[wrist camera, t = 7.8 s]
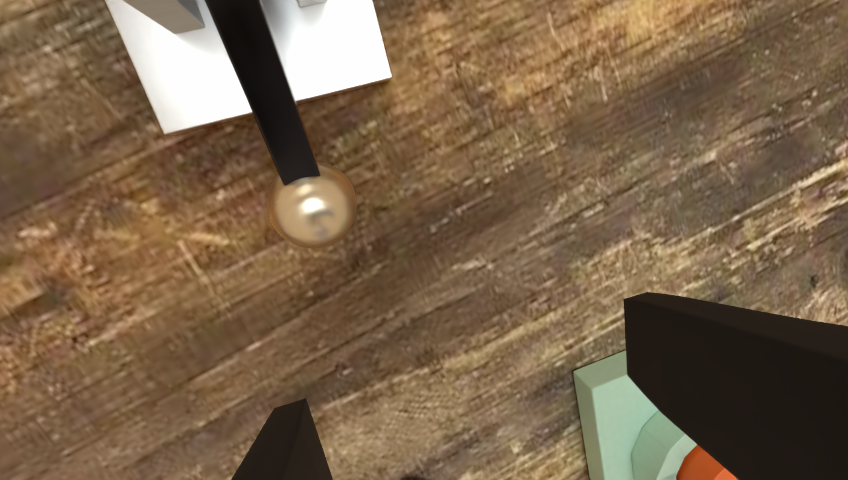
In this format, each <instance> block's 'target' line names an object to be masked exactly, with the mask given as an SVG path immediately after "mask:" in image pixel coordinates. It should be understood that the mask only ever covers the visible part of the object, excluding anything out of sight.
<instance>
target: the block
mask: <svg viewBox="0 0 848 480" xmlns="http://www.w3.org/2000/svg"><path fill="white" fill-rule="evenodd" d="M573 375H574V381H575V388H576V394H577V400H578V407H579V413H580V420H581V426H582V432H583V439H584V445H585V451H586V458H587V464H588V471H589V477H590V480H676V475H677V473H678V471H679V468H680V466H681V464H682V462H683V460H684V457H685V456H686V455H687V454H688V453H689V452H690V451H691V450H692V449H693V448H694V447H695V446H696V445H697V444H696V443H695V442H694V441H693V440H692V439H691V438H689V437H688V436H687V435H686V434H685V433H684V432H683V431H681V430H680V429H679V428H678V427H677V426H676V425H674V424H673V423H672V422H671V421H670V420H669V419H668V418H667V417H666V416H664V415H663V414H662V413H661V412H660V411H659V410H658V409H657V408H656V407H655V406H654V405H653V404H652V402H651V401H650V400H649V399H648V398H647V397H646V396H645V395H644V394H643V393H642V392H641V390H640V389H639V388H638V387H637V386H636V385H635V384H634V382H633V381H632V380H631V379H630V378H629V377H628V376H627V361H626V350H625V351H622V352H620V353H617V354H615V355H612V356H610V357H607V358H605V359H602V360H600V361H597V362H595V363H592V364H590V365H587V366H585V367H582V368H580V369H577V370H575V371H573Z"/></svg>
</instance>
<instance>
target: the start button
mask: <svg viewBox="0 0 848 480" xmlns="http://www.w3.org/2000/svg"><path fill="white" fill-rule="evenodd" d="M676 480H738V479H737V478H736V477H735V476H734V475H732V474H731V473H730V472H729V471H728V470H727V469H725V468H724V467H723V466H722V465H721V464H720V463H718V462H717V461H716V460H715V459H714V458H713V457H711V456H710V455H709V454H708V453H707V452H706V451H704V450H703V449H702V448H701V447H700V446H699V445H696V446H695V447H694V448H693V449H692V450H691V451H690V452H689V453H688V454H687V455H686V456H685V457H684V460H683V462H682V464H681V466H680V468H679V471H678V473H677V475H676Z"/></svg>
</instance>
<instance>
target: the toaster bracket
mask: <svg viewBox="0 0 848 480" xmlns="http://www.w3.org/2000/svg"><path fill="white" fill-rule="evenodd" d="M105 2H106V5H107V7H108V9H109V11H110V14H111V16H112V18H113V20H114V23H115V25H116V27H117V30H118V32H119V34H120V36H121V39H122V41H123V43H124V45H125V48H126V50H127V52H128V54H129V57H130V59H131V61H132V63H133V66H134V68H135V70H136V73H137V75H138V77H139V79H140V82H141V84H142V86H143V88H144V91H145V93H146V95H147V97H148V100H149V102H150V104H151V106H152V109H153V111H154V113H155V116H156V118H157V120H158V122H159V125H160V127H161V129H162V131H163V134H164V135H177V134H181V133H185V132H189V131H193V130H197V129H201V128H205V127H209V126H213V125H217V124H221V123H225V122H229V121H233V120H237V119H241V118H245V117H249V116H253V113H252V110H251V108H250V106H249V103H248V101H247V99H246V96H245V94H244V92H243V89H242V87H241V85H240V82H239V80H238V78H237V75H236V73H235V71H234V68H233V66H232V64H231V61H230V59H229V57H228V54H227V52H226V50H225V47H224V45H223V43H222V40H221V38H220V36H219V33H218V31H217V29H216V26H215V24H214V22H213V19H212V17H211V15H210V12H209V10H208V8H207V5H206V3H205V1H204V0H105ZM261 2H262V5H263V8H264V10H265V13H266V16H267V19H268V22H269V25H270V28H271V31H272V34H273V36H274V39H275V42H276V45H277V48H278V51H279V54H280V57H281V60H282V62H283V65H284V68H285V71H286V74H287V77H288V80H289V83H290V85H291V88H292V91H293V94H294V97H295V100H296V103H297V104H300V103H304V102H308V101H312V100H316V99H320V98H324V97H328V96H332V95H336V94H340V93H344V92H348V91H352V90H356V89H360V88H364V87H368V86H372V85H376V84H380V83H384V82H387V81H389V80H390V79H391V78H392V73H391V69H390V65H389V61H388V57H387V53H386V49H385V45H384V41H383V37H382V33H381V30H380V26H379V22H378V18H377V14H376V10H375V6H374V2H373V0H261Z"/></svg>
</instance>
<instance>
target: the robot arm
mask: <svg viewBox="0 0 848 480" xmlns="http://www.w3.org/2000/svg"><path fill="white" fill-rule="evenodd" d="M624 315H625V338H626V361H627V376H628V377H629V378H630V379H631V380H632V381H633V382H634V384H635V385H636V386H637V387H638V388H639V389H640V390H641V392H642V393H643V394H644V395H645V396H646V397H647V398H648V399H649V400H650V401H651V402H652V404H653V405H654V406H655V407H656V408H657V409H658V410H659V411H660V412H661V413H662V414H663V415H664V416H666V417H667V418H668V419H669V420H670V421H671V422H672V423H673V424H674V425H676V426H677V427H678V428H679V429H680V430H681V431H683V432H684V433H685V434H686V435H687V436H688V437H689V438H691V439H692V440H693V441H694V442H695V443H696V444H697V445H699V446H700V447H701V448H702V449H703V450H704V451H706V452H707V453H708V454H709V455H710V456H711V457H713V458H714V459H715V460H716V461H717V462H718V463H720V464H721V465H722V466H723V467H724V468H725V469H727V470H728V471H729V472H730V473H731V474H732V475H734V476H735V477H736V478H737V479H738V480H848V326H843V325H836V324H830V323H824V322H817V321H811V320H805V319H799V318H793V317H788V316H782V315H777V314H771V313H766V312H760V311H755V310H750V309H745V308H739V307H734V306H729V305H724V304H719V303H713V302H708V301H703V300H697V299H692V298H686V297H680V296H674V295H668V294H660V293H650V292H646V293H643V294H640V295H636V296H633V297H630V298H627V299H624ZM231 480H332V476H331V473H330V470H329V467H328V463H327V460H326V457H325V454H324V451H323V448H322V445H321V442H320V439H319V436H318V433H317V430H316V427H315V424H314V421H313V418H312V415H311V412H310V409H309V406H308V403H307V400H306V399H302V400H299V401H296V402H293V403H290V404H286V405H283V406H280V407H277V408H274V410H273V411H272V413H271V415H270V416H269V418H268V419H267V421H266V423H265V424H264V426H263V428H262V429H261V431H260V433H259V434H258V436H257V438H256V439H255V441H254V443H253V444H252V446H251V448H250V449H249V451H248V453H247V454H246V456H245V458H244V459H243V461H242V463H241V464H240V466H239V468H238V469H237V471H236V473H235V474H234V476H233V477H232V479H231Z"/></svg>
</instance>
